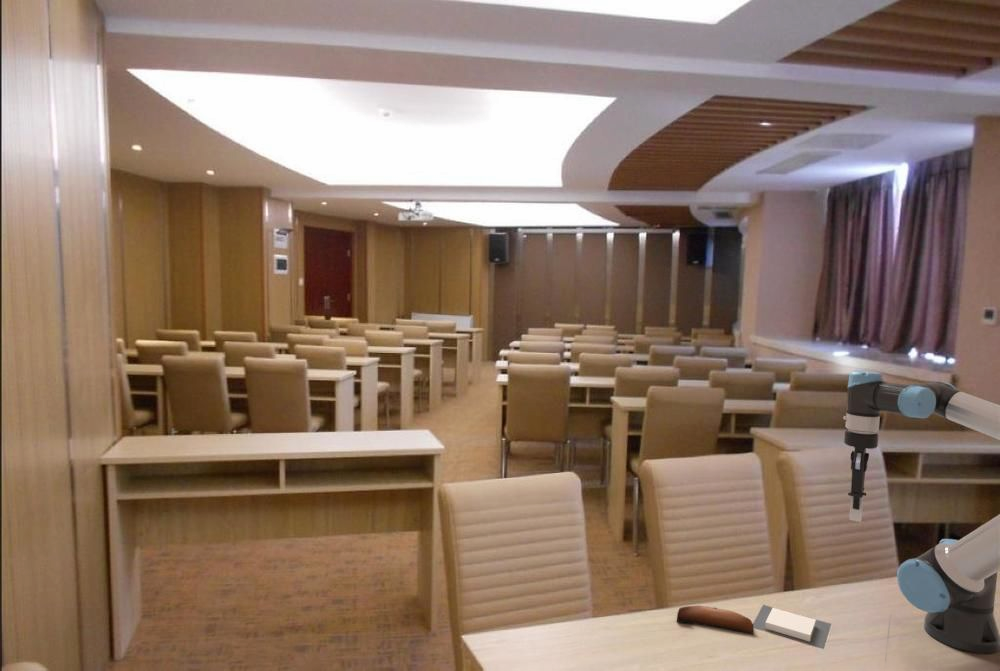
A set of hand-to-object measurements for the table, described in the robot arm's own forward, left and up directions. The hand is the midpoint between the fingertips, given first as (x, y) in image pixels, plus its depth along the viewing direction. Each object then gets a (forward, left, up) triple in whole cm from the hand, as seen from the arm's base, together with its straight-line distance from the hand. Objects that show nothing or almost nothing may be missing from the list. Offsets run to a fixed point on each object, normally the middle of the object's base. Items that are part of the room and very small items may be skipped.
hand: (855, 520), depth 166 cm
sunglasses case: (+27, +28, -25) cm, 46 cm away
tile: (+11, +16, -23) cm, 30 cm away
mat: (+11, +19, -24) cm, 33 cm away
